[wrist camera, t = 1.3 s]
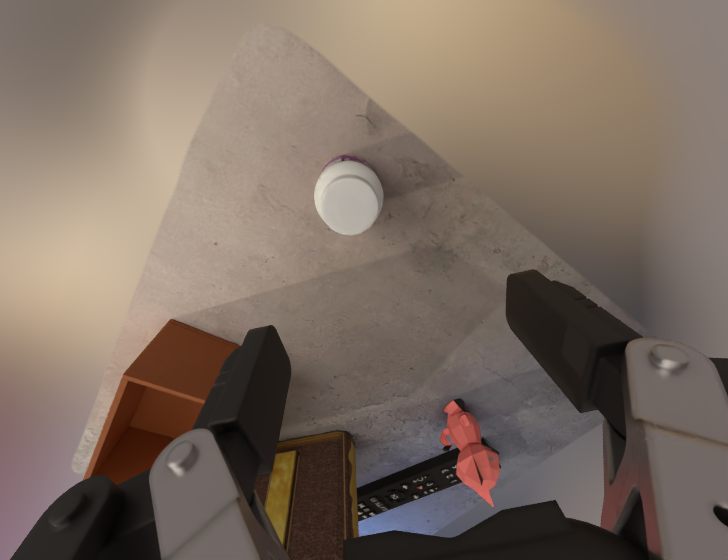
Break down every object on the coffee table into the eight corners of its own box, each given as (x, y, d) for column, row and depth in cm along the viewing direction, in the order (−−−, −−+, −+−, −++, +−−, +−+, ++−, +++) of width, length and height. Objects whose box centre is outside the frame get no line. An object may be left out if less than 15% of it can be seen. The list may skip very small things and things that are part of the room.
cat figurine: (480, 416, 47) (521, 501, 36) (440, 430, 48) (469, 517, 37) (468, 389, 44) (509, 474, 33) (426, 405, 45) (452, 493, 34)
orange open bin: (170, 318, 34) (122, 374, 27) (268, 356, 38) (251, 415, 30) (126, 423, 42) (79, 489, 34) (211, 446, 46) (185, 510, 38)
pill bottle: (386, 181, 28) (405, 207, 20) (349, 220, 30) (352, 259, 22) (345, 139, 26) (348, 147, 18) (308, 183, 28) (294, 210, 20)
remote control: (326, 500, 56) (326, 512, 54) (483, 437, 50) (488, 449, 48) (348, 515, 59) (348, 527, 57) (496, 458, 53) (502, 470, 51)
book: (347, 424, 45) (354, 706, 23) (357, 455, 50) (372, 720, 28) (210, 449, 46) (92, 748, 24) (232, 478, 50) (147, 756, 28)
